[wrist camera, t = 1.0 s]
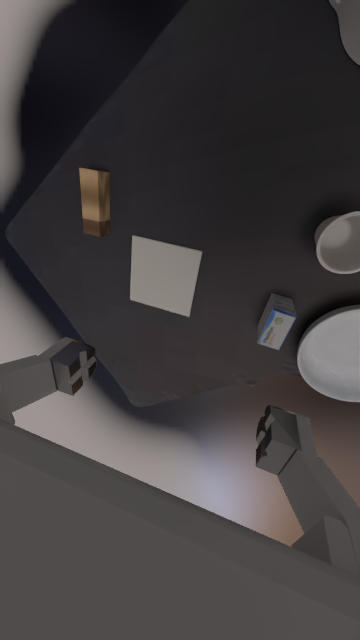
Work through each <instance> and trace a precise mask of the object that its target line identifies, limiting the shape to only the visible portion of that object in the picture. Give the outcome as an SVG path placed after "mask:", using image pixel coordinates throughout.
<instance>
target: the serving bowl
mask: <svg viewBox="0 0 360 640" xmlns="http://www.w3.org/2000/svg"><path fill="white" fill-rule="evenodd" d="M297 364H298V368H299V371H300V373H301V375H302V377H303V378H304V380H305V381H306V382H307V383H308V384H309V385H310V386H311V387H312V388H314V389H315V390H317V391H318V392H320V393H322V394H324V395H326V396H328V397H331V398H334V399H339V400H343V401H349V402H360V305H352V306H347V307H342V308H339V309H336V310H333V311H331V312H329V313H327V314H325V315H323V316H321V317H320V318H318V319H317V320H316V321H314V322H313V323H312V324H311V325H310V326H309V327H308V328H307V330H306V331H305V332H304V334H303V336H302V338H301V340H300V342H299V346H298V351H297Z"/></svg>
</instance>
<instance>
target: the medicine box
mask: <svg viewBox="0 0 360 640" xmlns="http://www.w3.org/2000/svg"><path fill="white" fill-rule="evenodd" d="M296 317H297V316H296V312H295V308H294V305H293V301H292V299H290V298H287V297H284V296H280V295H277V294H274V293H271V295H270V297H269V300H268V302H267V304H266V307H265V309H264V311H263V314H262V316H261V319H260V321H259V323H258V334H257V343H258V344H261V345H264V346H267V347H271V348H274V349H277V350H279V349H280V347H281V346H282V344H283V342H284V340H285V338H286V336H287V334H288V332H289V330H290V329H291V327H292V325H293V323H294V321H295V319H296Z"/></svg>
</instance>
